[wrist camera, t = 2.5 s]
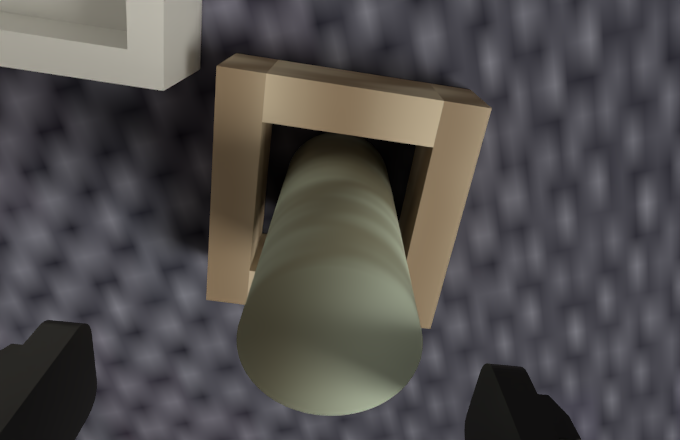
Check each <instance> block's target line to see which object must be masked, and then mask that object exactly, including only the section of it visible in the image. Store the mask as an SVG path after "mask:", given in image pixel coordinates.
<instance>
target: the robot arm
mask: <svg viewBox="0 0 680 440" xmlns="http://www.w3.org/2000/svg"><path fill="white" fill-rule="evenodd" d="M96 389H97V378H96V369H95V360H94V351H93V341H92V333H91V329H90V326H89V325H88V324H84V323H74V322H63V321H53V320H47V321H44V322H43V323H42V324H41V325H40V326H39V327H38V328H37V329H36V330H35V331H34V333H33V334H32V335H31V336H30V337H29V338H28V340H27V341H26V342H25V343H24V344H23V345H18V344H11V345H9V346H7V347H6V348H4V349H2V350H1V351H0V440H75V438H76V437H77V435H78V433H79V431H80V430H81V428H82V426H83V424H84V423H85V421H86V419H87V417H88V416H89V414H90V411H91V409H92V406H93V403H94V400H95V396H96ZM465 440H581V438H580V436H579V434H578V432H577V431H576V429H575V427H574V425H573V423H572V421H571V419H570V417H569V416H568V415H567V414H566V413H565V412H564V411H563V410H562V409H561V408H560V407H559V406H558V405H557V404H556V403H555V401H554V400H553V399H552V398H551V397H550V396H549V395H540V394H537V392H536V390H535V388H534V386H533V384H532V382H531V380H530V378H529V375H528V373H527V372H526V370H525V369H524V368H523V367H518V366H508V365H497V364H485V365H484V366H483V367H482V369H481V372H480V375H479V378H478V381H477V384H476V387H475V390H474V394H473V397H472V400H471V403H470V406H469V409H468V412H467V416H466V420H465Z"/></svg>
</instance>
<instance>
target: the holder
mask: <svg viewBox="0 0 680 440" xmlns="http://www.w3.org/2000/svg"><path fill="white" fill-rule="evenodd" d="M491 109H492V108H491V107H490V106H488V105H487V104H486V103H485V102H484V101H483V100H481V99H480V98H479V97H478V96H477V95H476V94H475V93H473V92H472V91H471V90H469V89H462V88H456V87H450V86H443V85H437V84H430V83H424V82H418V81H411V80H405V79H398V78H392V77H386V76H379V75H373V74H366V73H360V72H354V71H347V70H341V69H334V68H328V67H322V66H315V65H309V64H302V63H296V62H290V61H283V60H277V59H270V58H264V57H258V56H251V55H245V54H238V53H236V54H234V55H233V56H231V57H229V58H228V59H226V60H225V61H223V62H222V63H220V64H219V65H217V66H216V88H215V111H214V135H213V158H212V181H211V204H210V227H209V251H208V274H207V297H206V300H213V301H220V302H228V303H236V304H243V305H245V303H246V300H247V297H248V294H249V290H250V287H251V284H252V281H253V278H254V274H255V271H256V268H257V265H258V262H259V259H260V255H261V252H262V249H263V246H264V243H265V240H266V236H267V234H263V233H262V230H263V219H264V208H265V197H266V187H267V176H268V165H269V155H270V144H271V133H272V124H279V125H286V126H292V127H299V128H306V129H313V130H319V131H326V132H333V133H339V134H346V135H353V136H359V137H366V138H373V139H379V140H386V141H393V142H400V143H406V144H413V145H416V148H415V152H414V157H413V161H412V166H411V170H410V175H409V179H408V184H407V188H406V193H405V197H404V202H403V206H402V211H401V215H400V220H399V228H400V232H401V237H402V242H403V246H404V251H405V256H406V260H407V265H408V270H409V274H410V279H411V284H412V289H413V293H414V298H415V303H416V307H417V312H418V317H419V321H420V326H421V328H428V329H430V328H431V324H432V321H433V317H434V313H435V310H436V306H437V303H438V299H439V296H440V292H441V288H442V285H443V281H444V278H445V274H446V270H447V267H448V263H449V260H450V256H451V252H452V249H453V245H454V242H455V238H456V235H457V231H458V227H459V224H460V220H461V217H462V213H463V209H464V206H465V202H466V199H467V195H468V191H469V188H470V184H471V181H472V177H473V174H474V170H475V166H476V163H477V159H478V156H479V152H480V148H481V145H482V141H483V138H484V134H485V130H486V127H487V123H488V120H489V116H490V113H491Z"/></svg>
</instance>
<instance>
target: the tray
mask: <svg viewBox="0 0 680 440" xmlns="http://www.w3.org/2000/svg"><path fill="white" fill-rule="evenodd" d="M201 26H202V0H0V66H2V67H8V68H15V69H22V70H28V71H35V72H41V73H48V74H55V75H61V76H68V77H75V78H81V79H88V80H94V81H101V82H108V83H114V84H121V85H127V86H134V87H141V88H147V89H154V90H161V91H164V90H166V89H168V88H170V87H171V86H173V85H175V84H176V83H178V82H180V81H181V80H183V79H185V78H186V77H188V76H190V75H191V74H193V73H195V72H197V71H198V70H200V60H201Z"/></svg>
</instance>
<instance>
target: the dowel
mask: <svg viewBox="0 0 680 440" xmlns="http://www.w3.org/2000/svg"><path fill="white" fill-rule="evenodd" d="M422 346H423V338H422V331H421V326H420V321H419V317H418V312H417V307H416V303H415V298H414V293H413V289H412V284H411V279H410V274H409V270H408V265H407V260H406V256H405V251H404V246H403V242H402V237H401V232H400V228H399V223H398V218H397V214H396V209H395V204H394V200H393V195H392V190H391V186H390V181H389V176H388V172H387V168H386V164H385V162H384V160H383V158H382V156H381V155H380V153H379V152H378V150H377V149H376V148H375V147H374V146H373V145H372V144H371V143H369V142H368V141H367V140H365V139H363V138H361V137H359V136H353V135H346V134H339V133H333V132H328V133H323V134H320V135H317V136H315V137H313V138H311V139H309V140H308V141H306V142H305V143H304V144H303V145H301V146H300V148H299V149H298V150H297V151H296V152H295V154H294V155H293V157H292V159H291V161H290V164H289V167H288V170H287V173H286V176H285V179H284V183H283V186H282V189H281V192H280V195H279V198H278V202H277V205H276V208H275V211H274V214H273V217H272V221H271V224H270V227H269V230H268V233H267V236H266V240H265V243H264V246H263V249H262V252H261V255H260V259H259V262H258V265H257V268H256V271H255V274H254V278H253V281H252V284H251V287H250V290H249V294H248V297H247V300H246V303H245V306H244V309H243V313H242V316H241V319H240V322H239V325H238V331H237V349H238V355H239V358H240V361H241V364H242V366H243V368H244V370H245V372H246V373H247V375H248V376H249V378H250V379H251V380H252V382H253V383H254V384H255V385H256V386H257V387H258V388H259V389H260V390H261V391H262V392H264V393H265V394H266V395H267V396H269V397H270V398H272V399H273V400H275V401H276V402H278V403H280V404H282V405H284V406H286V407H289V408H292V409H294V410H297V411H301V412H305V413H309V414H315V415H326V416H336V415H347V414H353V413H358V412H362V411H365V410H368V409H371V408H374V407H376V406H378V405H380V404H382V403H384V402H386V401H387V400H389V399H390V398H392V397H393V396H394V395H396V394H397V393H398V392H400V391H401V390H402V389H403V388H404V386H405V385H406V384H407V383H408V382H409V381H410V379H411V378H412V377H413V375H414V373H415V371H416V369H417V367H418V364H419V362H420V359H421V354H422Z"/></svg>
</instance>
